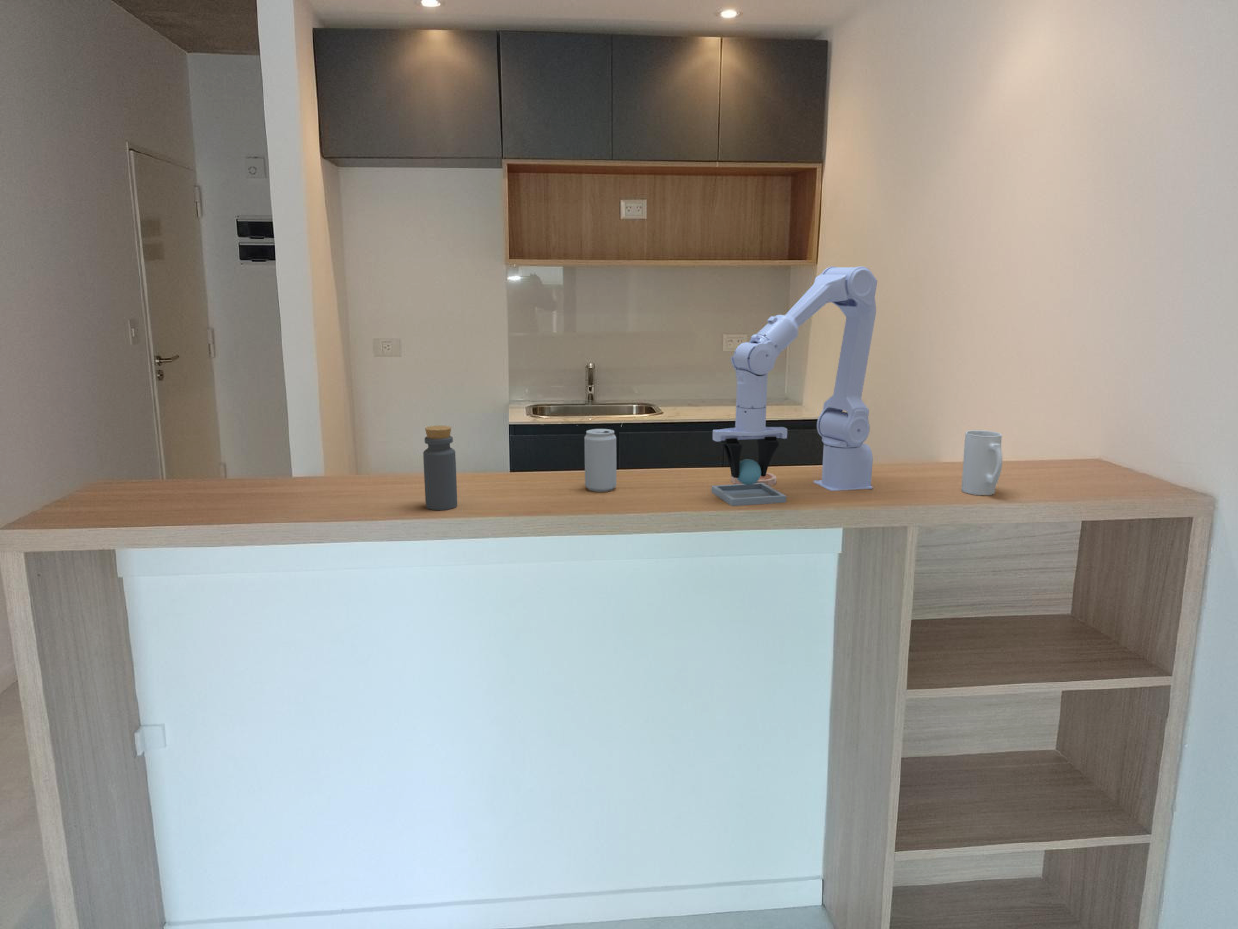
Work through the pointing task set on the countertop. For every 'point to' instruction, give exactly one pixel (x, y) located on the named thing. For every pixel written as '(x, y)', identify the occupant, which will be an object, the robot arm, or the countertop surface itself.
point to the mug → (981, 462)
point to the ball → (749, 471)
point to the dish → (760, 479)
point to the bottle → (439, 469)
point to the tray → (748, 494)
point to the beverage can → (600, 460)
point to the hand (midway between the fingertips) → (748, 476)
